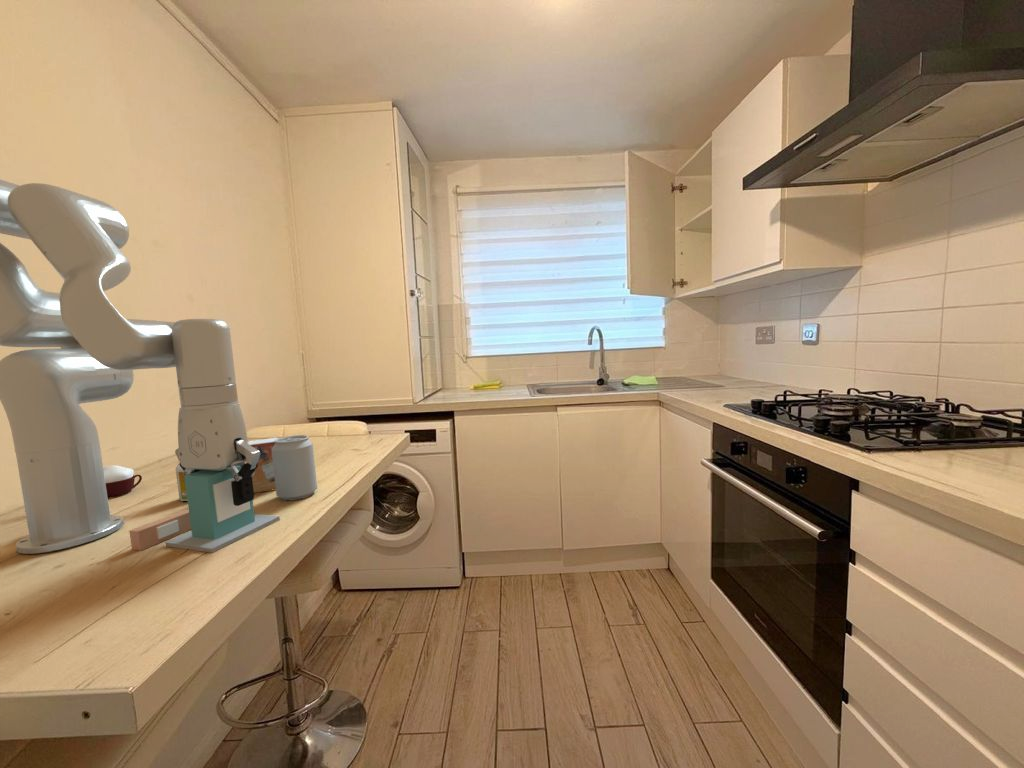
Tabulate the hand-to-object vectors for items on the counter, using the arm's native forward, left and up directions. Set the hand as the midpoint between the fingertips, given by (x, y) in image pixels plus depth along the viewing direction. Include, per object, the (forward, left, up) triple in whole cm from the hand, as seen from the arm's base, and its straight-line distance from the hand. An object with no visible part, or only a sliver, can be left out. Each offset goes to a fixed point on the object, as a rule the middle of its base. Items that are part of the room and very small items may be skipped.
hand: (222, 500), depth 70 cm
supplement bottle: (-24, +12, -6) cm, 27 cm away
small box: (-14, +19, -6) cm, 24 cm away
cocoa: (-46, +10, -6) cm, 47 cm away
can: (-2, +17, -6) cm, 18 cm away
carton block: (0, 0, -5) cm, 5 cm away
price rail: (-8, 0, -5) cm, 10 cm away
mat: (0, 0, -5) cm, 5 cm away
